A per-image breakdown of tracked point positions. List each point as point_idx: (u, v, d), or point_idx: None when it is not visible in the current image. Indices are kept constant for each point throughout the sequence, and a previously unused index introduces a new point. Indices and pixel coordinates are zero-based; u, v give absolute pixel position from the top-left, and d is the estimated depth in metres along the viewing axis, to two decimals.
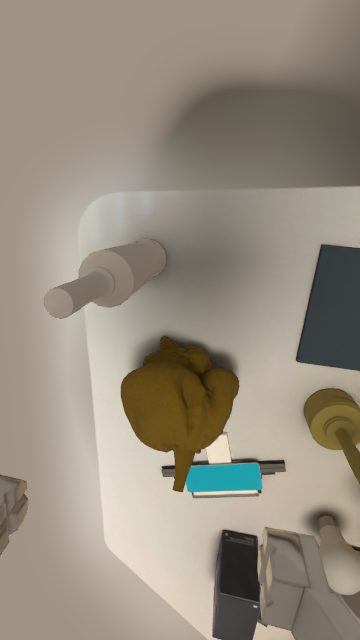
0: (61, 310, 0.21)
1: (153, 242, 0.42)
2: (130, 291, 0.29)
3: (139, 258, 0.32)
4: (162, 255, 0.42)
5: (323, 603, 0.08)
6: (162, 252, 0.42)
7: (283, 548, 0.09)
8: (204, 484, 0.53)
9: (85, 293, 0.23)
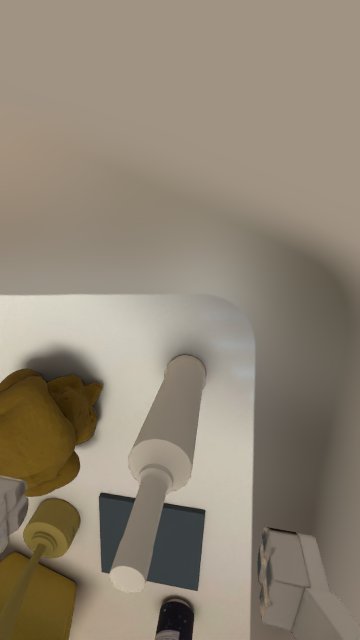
0: (119, 580, 0.18)
1: (202, 387, 0.40)
2: None
3: None
4: None
5: (323, 603, 0.08)
6: None
7: (283, 548, 0.09)
8: None
9: None
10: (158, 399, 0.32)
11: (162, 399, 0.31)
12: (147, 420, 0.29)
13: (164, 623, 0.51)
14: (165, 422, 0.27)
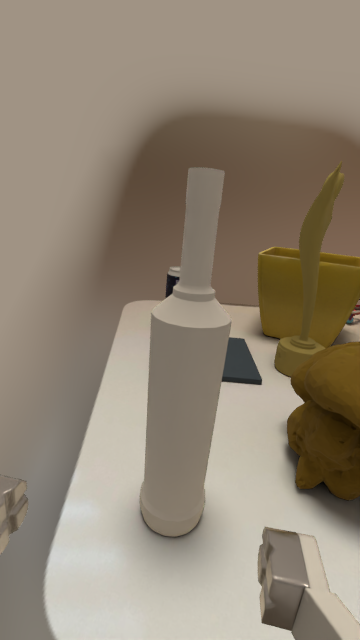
0: None
1: None
2: None
3: None
4: None
5: (323, 603, 0.08)
6: None
7: (283, 548, 0.09)
8: None
9: None
10: (205, 420, 0.21)
11: (200, 417, 0.21)
12: (215, 375, 0.20)
13: None
14: (188, 364, 0.19)
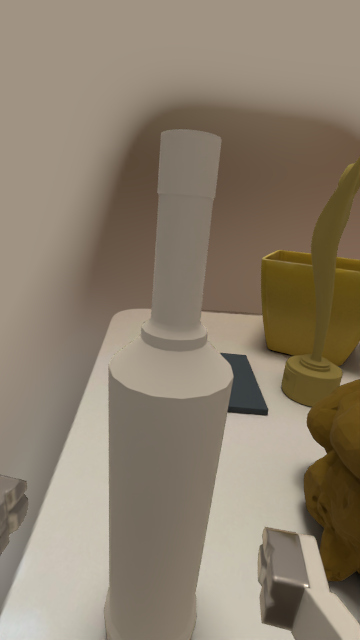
0: None
1: None
2: None
3: None
4: None
5: (323, 603, 0.08)
6: None
7: (283, 548, 0.09)
8: None
9: None
10: (194, 525, 0.14)
11: (185, 524, 0.14)
12: (209, 462, 0.13)
13: None
14: (164, 452, 0.12)
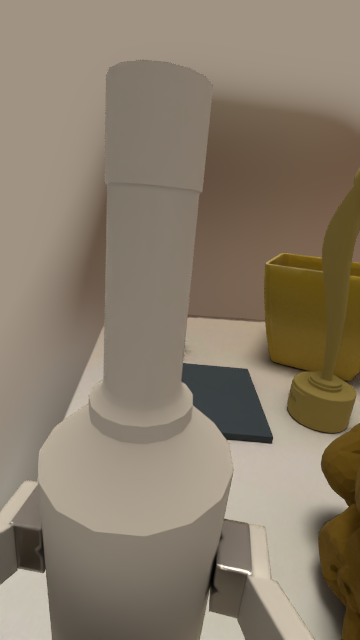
0: None
1: None
2: None
3: None
4: None
5: (262, 590, 0.08)
6: None
7: (231, 538, 0.09)
8: None
9: None
10: None
11: None
12: (195, 603, 0.08)
13: None
14: (119, 609, 0.07)
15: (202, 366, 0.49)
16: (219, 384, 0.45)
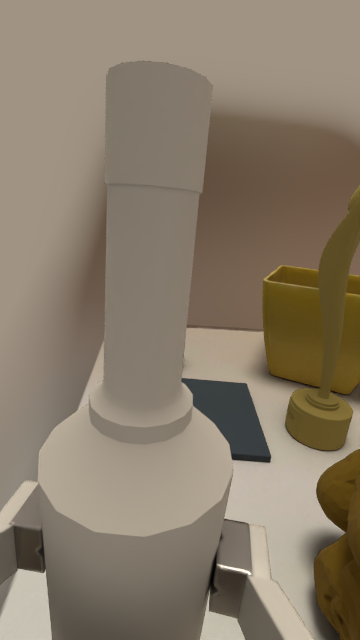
0: None
1: None
2: None
3: None
4: None
5: (262, 590, 0.08)
6: None
7: (231, 538, 0.09)
8: None
9: None
10: None
11: None
12: (194, 604, 0.08)
13: None
14: (118, 609, 0.07)
15: (202, 381, 0.50)
16: (218, 400, 0.45)
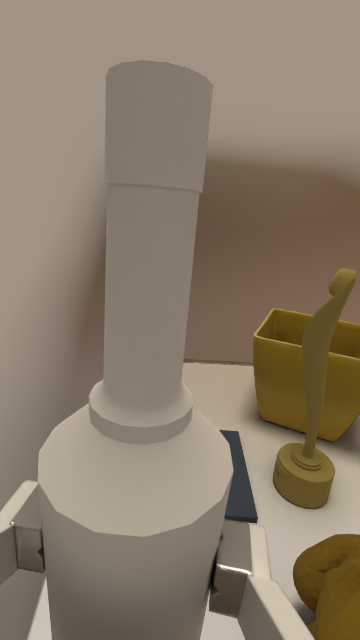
0: None
1: None
2: None
3: None
4: None
5: (262, 590, 0.08)
6: None
7: (231, 538, 0.09)
8: None
9: None
10: None
11: None
12: (195, 604, 0.08)
13: None
14: (119, 609, 0.07)
15: None
16: None
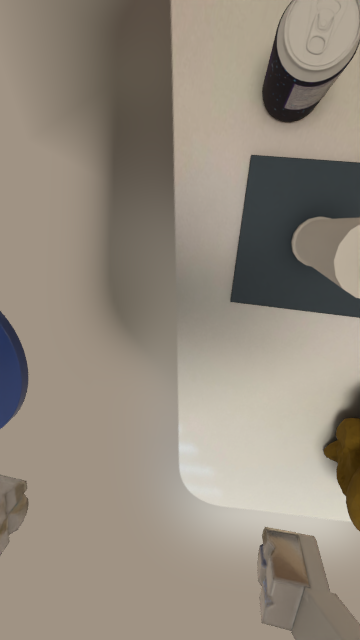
0: None
1: (314, 219, 0.33)
2: None
3: None
4: None
5: (323, 603, 0.08)
6: None
7: (283, 548, 0.09)
8: None
9: None
10: None
11: None
12: None
13: (310, 107, 0.29)
14: (330, 276, 0.23)
15: (339, 167, 0.33)
16: None
